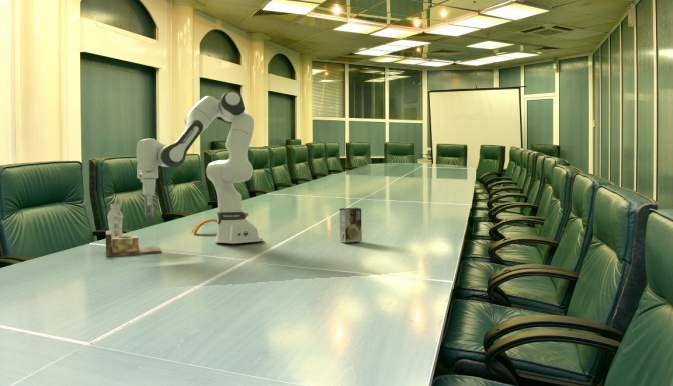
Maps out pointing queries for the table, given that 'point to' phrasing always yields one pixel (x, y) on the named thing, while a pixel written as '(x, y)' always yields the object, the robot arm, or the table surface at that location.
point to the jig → (141, 251)
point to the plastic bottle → (115, 220)
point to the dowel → (148, 207)
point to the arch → (201, 225)
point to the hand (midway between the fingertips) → (149, 204)
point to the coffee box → (350, 225)
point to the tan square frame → (125, 244)
